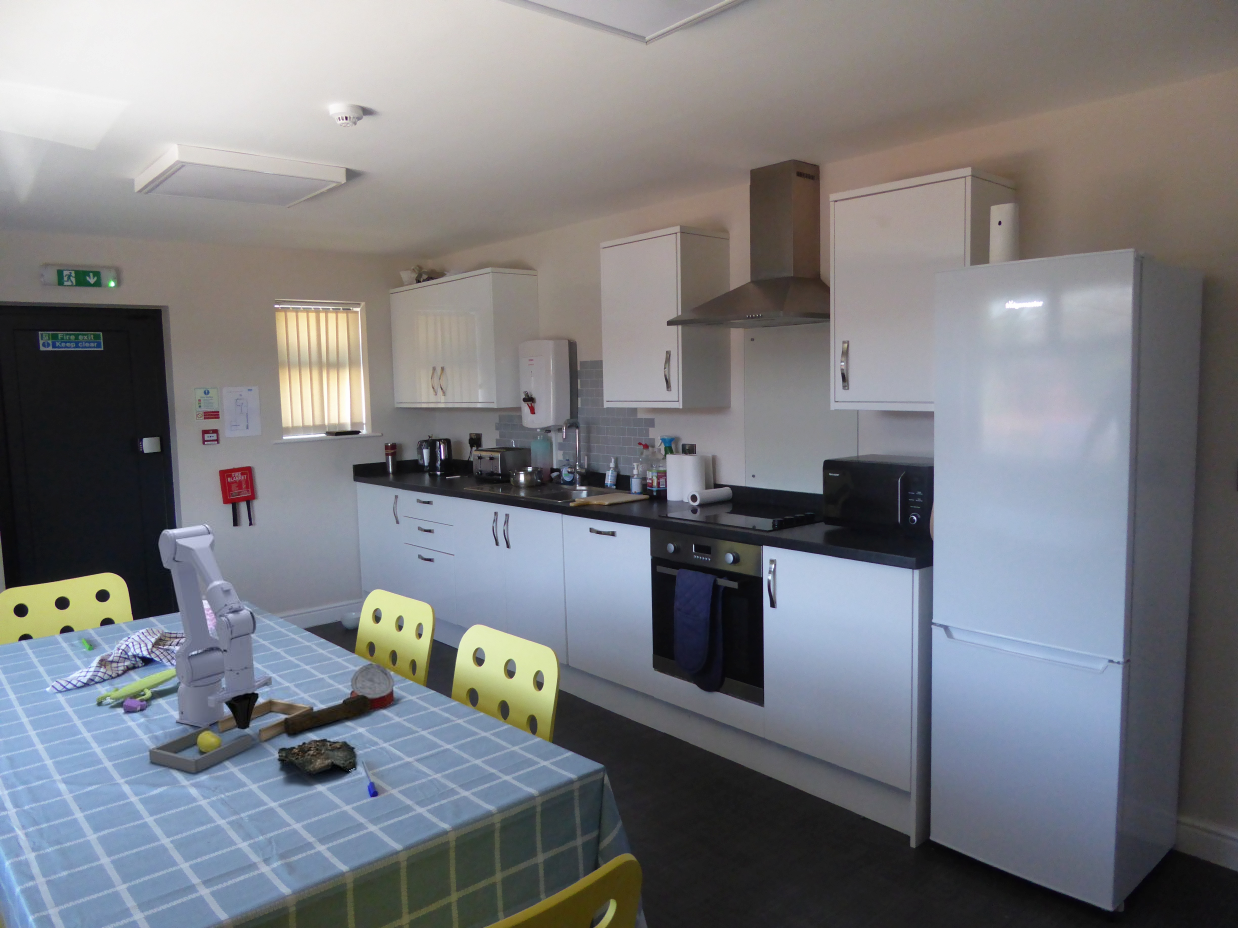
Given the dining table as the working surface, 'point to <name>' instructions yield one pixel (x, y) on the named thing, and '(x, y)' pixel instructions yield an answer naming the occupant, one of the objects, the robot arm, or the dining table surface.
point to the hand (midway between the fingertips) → (243, 727)
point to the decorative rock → (319, 755)
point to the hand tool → (328, 714)
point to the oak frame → (264, 708)
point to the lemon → (208, 741)
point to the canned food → (373, 685)
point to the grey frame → (168, 758)
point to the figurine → (139, 690)
